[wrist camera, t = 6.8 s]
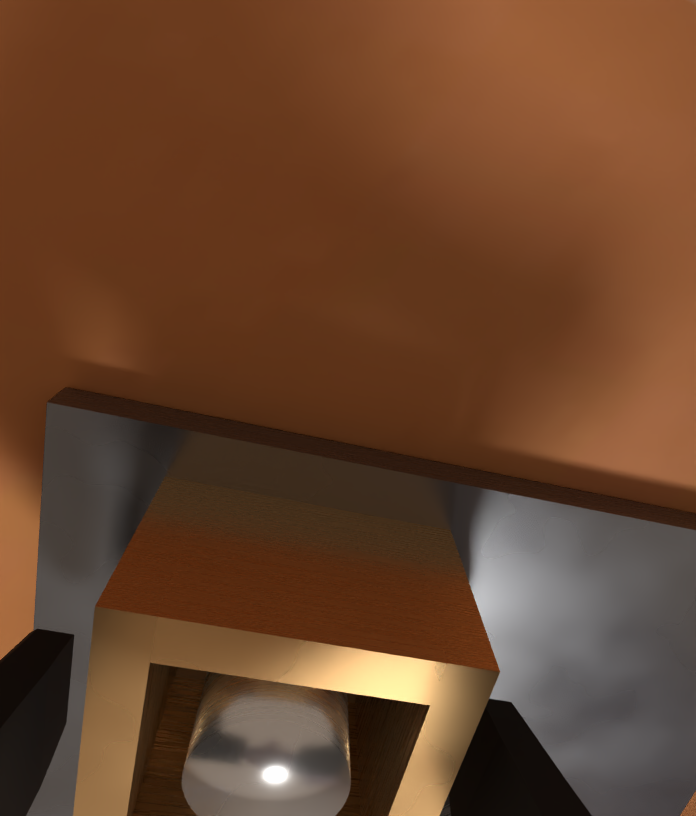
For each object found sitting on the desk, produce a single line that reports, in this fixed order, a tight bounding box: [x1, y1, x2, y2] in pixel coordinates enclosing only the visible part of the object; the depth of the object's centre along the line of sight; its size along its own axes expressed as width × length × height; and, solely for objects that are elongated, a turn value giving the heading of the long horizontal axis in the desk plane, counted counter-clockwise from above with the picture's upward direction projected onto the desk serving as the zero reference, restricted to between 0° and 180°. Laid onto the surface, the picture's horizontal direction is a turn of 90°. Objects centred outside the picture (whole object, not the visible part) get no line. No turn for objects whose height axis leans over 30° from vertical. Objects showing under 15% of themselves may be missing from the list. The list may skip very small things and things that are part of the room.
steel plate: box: [26, 387, 696, 816], centre depth 14 cm, size 16×11×1 cm
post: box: [182, 671, 351, 816], centre depth 11 cm, size 3×3×4 cm
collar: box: [73, 476, 500, 816], centre depth 11 cm, size 6×6×4 cm
